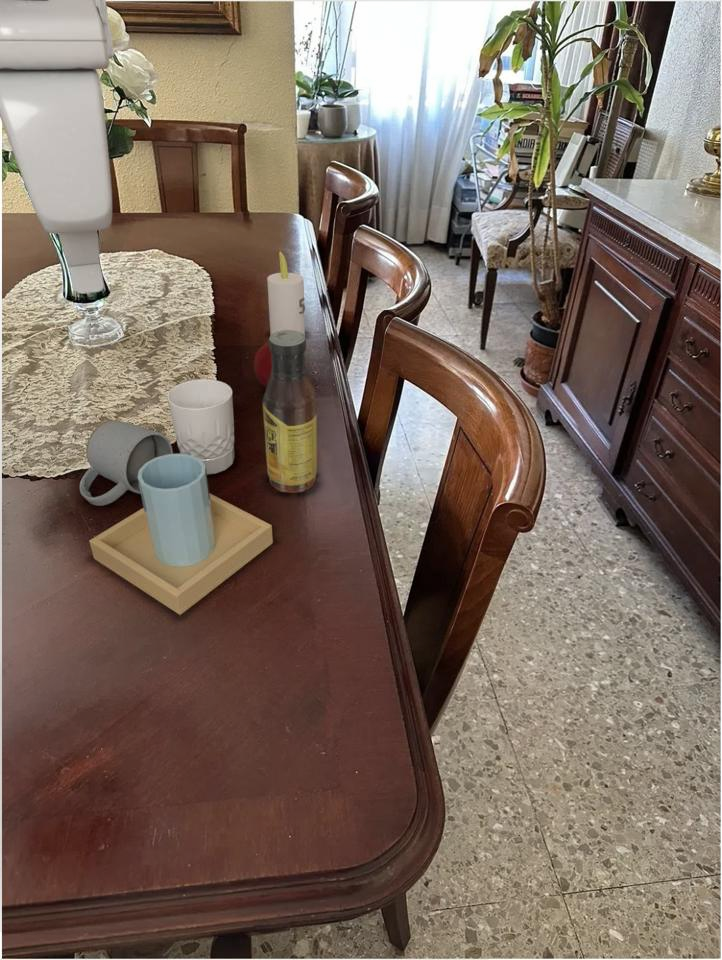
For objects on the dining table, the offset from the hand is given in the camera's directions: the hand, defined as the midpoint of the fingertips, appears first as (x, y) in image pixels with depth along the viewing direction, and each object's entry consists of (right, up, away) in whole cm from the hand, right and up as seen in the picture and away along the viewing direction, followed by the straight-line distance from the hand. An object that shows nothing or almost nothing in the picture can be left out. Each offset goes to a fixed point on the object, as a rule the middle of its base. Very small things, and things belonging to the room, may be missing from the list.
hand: (81, 267), depth 45 cm
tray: (0, -22, +27) cm, 35 cm away
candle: (+6, +12, +76) cm, 77 cm away
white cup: (-1, -12, +42) cm, 44 cm away
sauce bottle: (+11, -15, +38) cm, 43 cm away
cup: (0, -22, +27) cm, 35 cm away
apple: (+6, 0, +59) cm, 59 cm away
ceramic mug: (-10, -15, +37) cm, 41 cm away
